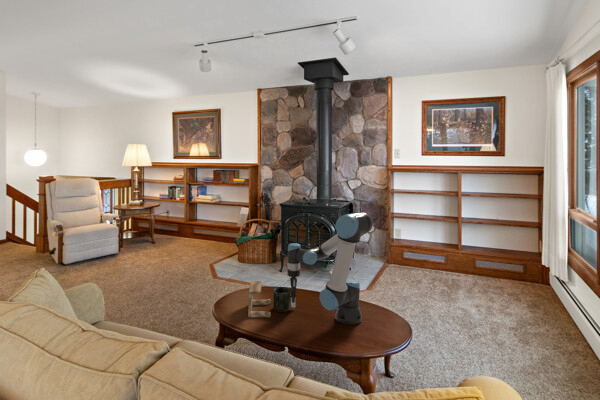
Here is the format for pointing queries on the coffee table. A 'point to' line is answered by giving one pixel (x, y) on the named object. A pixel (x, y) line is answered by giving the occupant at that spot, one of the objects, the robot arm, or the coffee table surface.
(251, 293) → the wooden u-frame
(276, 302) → the mug
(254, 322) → the coffee table surface
